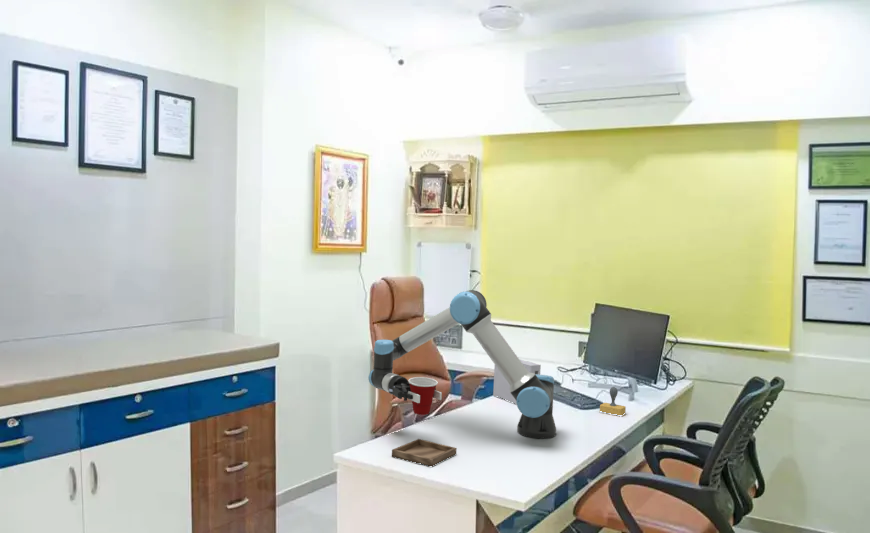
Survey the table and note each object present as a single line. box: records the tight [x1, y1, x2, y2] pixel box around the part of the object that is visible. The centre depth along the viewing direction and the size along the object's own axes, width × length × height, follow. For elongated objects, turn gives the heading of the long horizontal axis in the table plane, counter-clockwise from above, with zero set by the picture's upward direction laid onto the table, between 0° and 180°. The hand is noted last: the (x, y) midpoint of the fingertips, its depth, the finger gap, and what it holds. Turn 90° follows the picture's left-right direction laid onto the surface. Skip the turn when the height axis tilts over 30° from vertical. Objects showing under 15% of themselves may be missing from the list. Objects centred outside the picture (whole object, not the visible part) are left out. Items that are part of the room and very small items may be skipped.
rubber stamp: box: [599, 386, 627, 416], centre depth 294 cm, size 10×6×12 cm, turn 55°
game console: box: [492, 358, 541, 405], centre depth 308 cm, size 6×27×20 cm, turn 31°
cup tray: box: [391, 438, 458, 467], centre depth 227 cm, size 16×16×2 cm
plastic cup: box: [407, 376, 439, 416], centre depth 239 cm, size 11×11×12 cm
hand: (430, 397), depth 235 cm, fingers closed on plastic cup, 9 cm apart
